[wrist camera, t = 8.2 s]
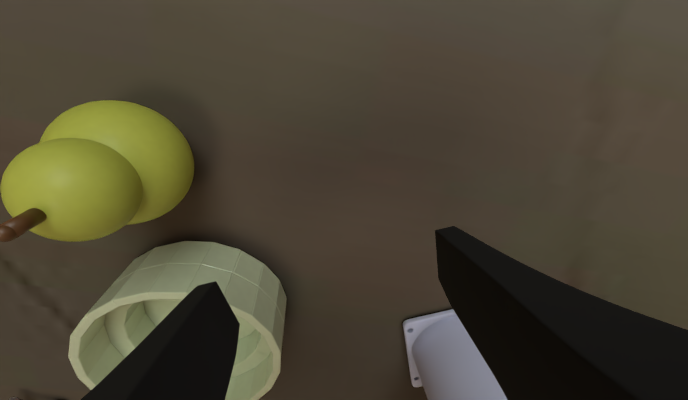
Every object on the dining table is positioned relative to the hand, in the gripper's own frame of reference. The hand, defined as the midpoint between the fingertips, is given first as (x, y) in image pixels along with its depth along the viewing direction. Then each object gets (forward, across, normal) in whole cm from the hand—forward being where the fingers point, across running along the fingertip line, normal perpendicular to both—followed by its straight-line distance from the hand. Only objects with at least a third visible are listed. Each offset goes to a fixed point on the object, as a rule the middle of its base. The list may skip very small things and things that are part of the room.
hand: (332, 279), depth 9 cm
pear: (+9, +8, -4) cm, 13 cm away
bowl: (+9, +11, +8) cm, 16 cm away
